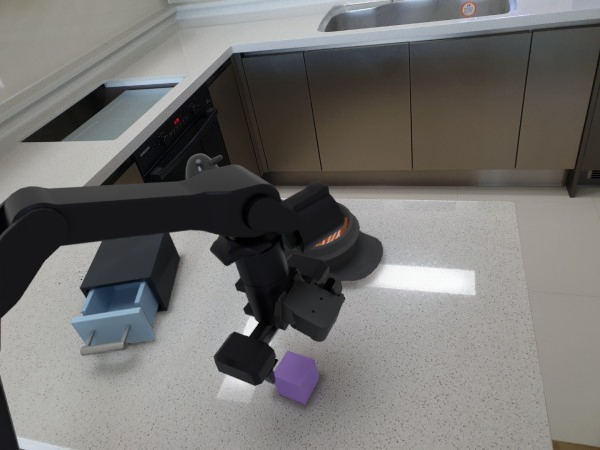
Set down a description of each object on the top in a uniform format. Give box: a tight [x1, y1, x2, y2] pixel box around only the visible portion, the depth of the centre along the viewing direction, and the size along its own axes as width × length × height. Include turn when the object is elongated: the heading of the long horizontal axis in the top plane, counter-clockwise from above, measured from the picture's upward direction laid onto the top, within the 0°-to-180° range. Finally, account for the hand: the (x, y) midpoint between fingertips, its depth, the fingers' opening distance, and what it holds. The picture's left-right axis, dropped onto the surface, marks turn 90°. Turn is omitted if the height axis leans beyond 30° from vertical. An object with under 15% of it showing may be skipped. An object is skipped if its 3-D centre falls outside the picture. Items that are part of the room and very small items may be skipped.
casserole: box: [284, 201, 384, 282], centre depth 85 cm, size 25×19×8 cm
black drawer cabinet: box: [79, 233, 181, 313], centre depth 87 cm, size 15×13×9 cm
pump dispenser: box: [184, 153, 224, 180], centre depth 101 cm, size 10×10×15 cm
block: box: [273, 349, 320, 405], centre depth 65 cm, size 4×4×4 cm
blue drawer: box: [70, 281, 159, 357], centre depth 79 cm, size 18×11×7 cm, turn 2°
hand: (288, 354), depth 62 cm, fingers open, 9 cm apart
